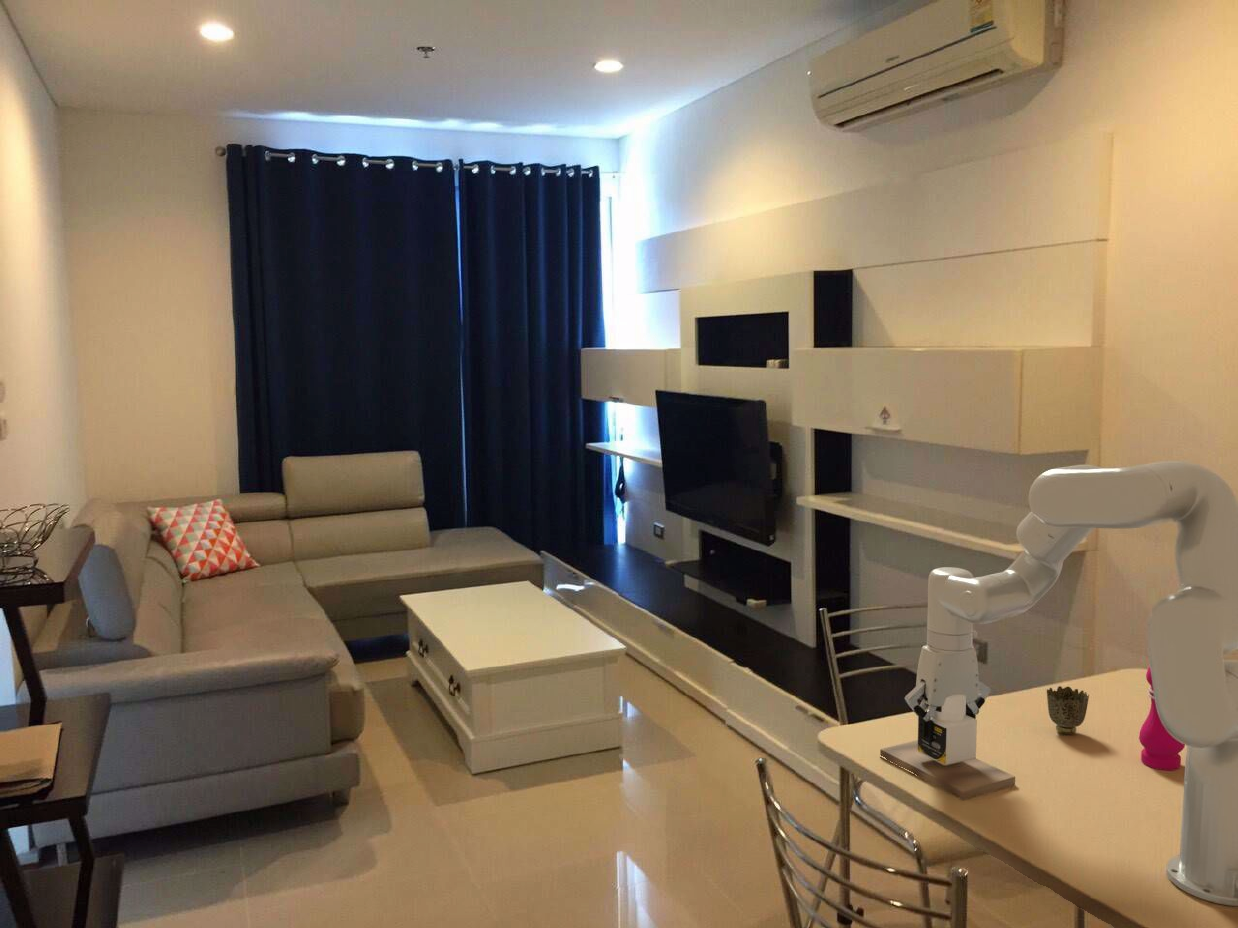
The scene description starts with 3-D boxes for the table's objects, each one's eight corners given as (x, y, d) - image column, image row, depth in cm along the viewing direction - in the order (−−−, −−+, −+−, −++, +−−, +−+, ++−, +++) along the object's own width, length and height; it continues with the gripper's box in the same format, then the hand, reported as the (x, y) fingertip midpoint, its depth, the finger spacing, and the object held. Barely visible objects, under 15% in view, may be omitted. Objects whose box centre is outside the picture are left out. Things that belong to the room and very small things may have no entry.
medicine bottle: (916, 751, 183) (918, 686, 182) (947, 744, 186) (949, 680, 185) (945, 766, 177) (946, 698, 176) (976, 758, 180) (978, 692, 178)
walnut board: (1015, 784, 176) (1015, 776, 176) (963, 800, 171) (963, 791, 170) (929, 744, 194) (929, 736, 193) (880, 757, 188) (880, 749, 188)
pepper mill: (1189, 773, 180) (1196, 661, 177) (1144, 770, 181) (1150, 659, 179) (1176, 756, 187) (1182, 649, 184) (1132, 753, 188) (1138, 647, 186)
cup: (1062, 741, 194) (1064, 700, 193) (1036, 727, 201) (1038, 688, 200) (1095, 737, 196) (1097, 696, 195) (1069, 723, 203) (1071, 684, 202)
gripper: (979, 629, 185) (976, 723, 187) (893, 638, 180) (891, 735, 182) (1006, 640, 178) (1003, 739, 180) (917, 650, 173) (915, 751, 175)
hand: (947, 736), depth 181 cm, fingers closed on medicine bottle, 7 cm apart
